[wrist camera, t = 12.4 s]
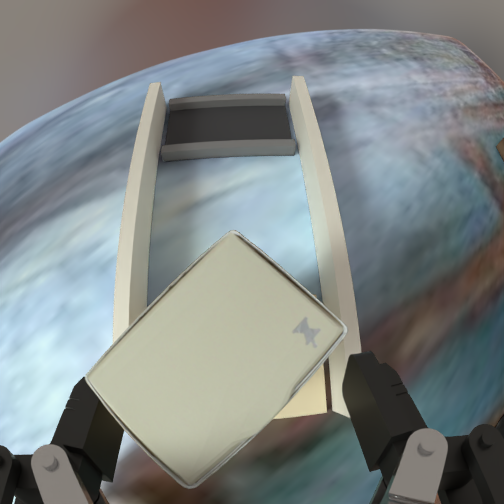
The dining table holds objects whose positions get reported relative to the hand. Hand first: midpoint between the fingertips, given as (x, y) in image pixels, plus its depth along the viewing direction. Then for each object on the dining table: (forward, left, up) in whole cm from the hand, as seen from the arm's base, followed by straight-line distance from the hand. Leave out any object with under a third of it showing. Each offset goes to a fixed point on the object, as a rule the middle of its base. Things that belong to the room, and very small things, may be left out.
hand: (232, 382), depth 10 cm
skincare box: (0, +1, -9) cm, 9 cm away
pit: (0, +20, -9) cm, 23 cm away
